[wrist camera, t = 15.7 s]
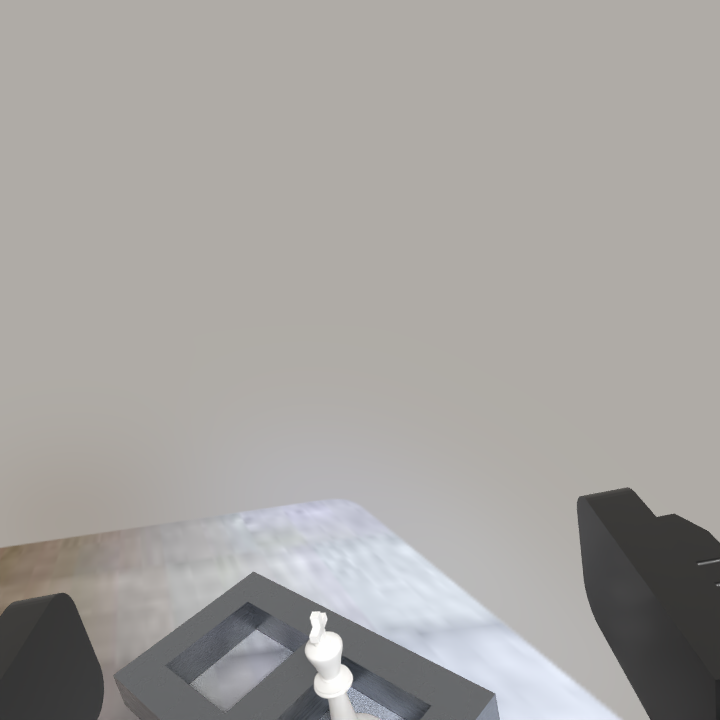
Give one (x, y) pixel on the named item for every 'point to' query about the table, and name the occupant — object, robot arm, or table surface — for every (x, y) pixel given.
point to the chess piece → (331, 670)
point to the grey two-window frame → (290, 665)
